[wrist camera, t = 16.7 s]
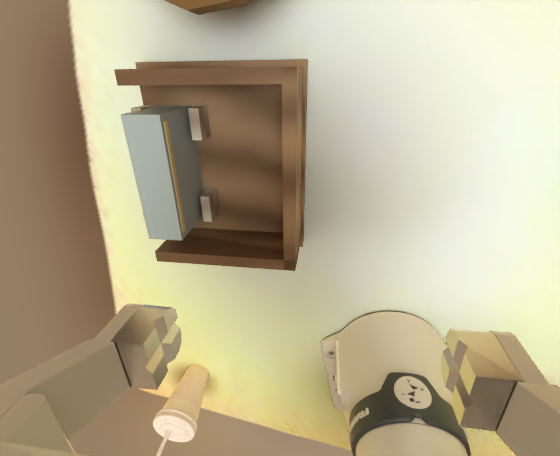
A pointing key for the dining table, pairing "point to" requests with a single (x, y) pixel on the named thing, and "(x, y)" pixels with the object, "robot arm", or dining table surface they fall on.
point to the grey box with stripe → (165, 169)
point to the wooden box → (238, 156)
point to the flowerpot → (207, 5)
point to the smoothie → (182, 408)
